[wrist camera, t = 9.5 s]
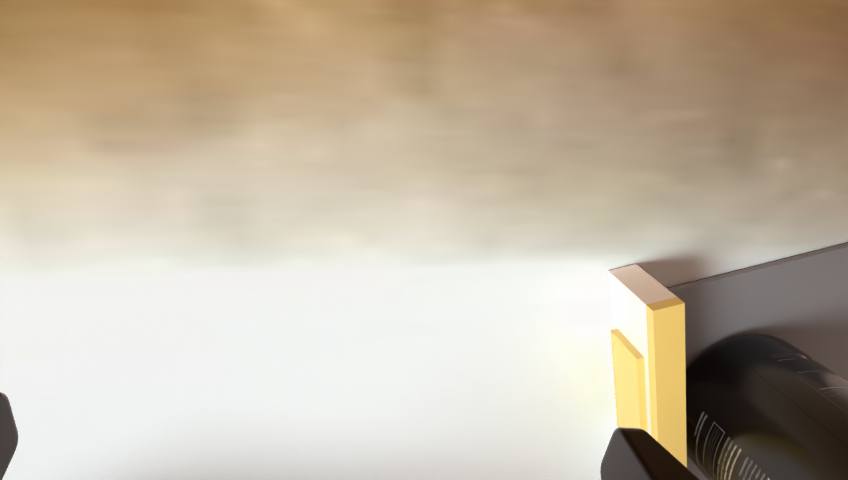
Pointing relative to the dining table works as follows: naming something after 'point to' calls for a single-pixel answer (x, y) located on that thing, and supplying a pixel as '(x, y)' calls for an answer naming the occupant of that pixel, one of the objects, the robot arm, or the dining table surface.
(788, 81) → the dining table surface
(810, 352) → the shelf mat
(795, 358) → the supplement bottle
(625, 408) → the rail
